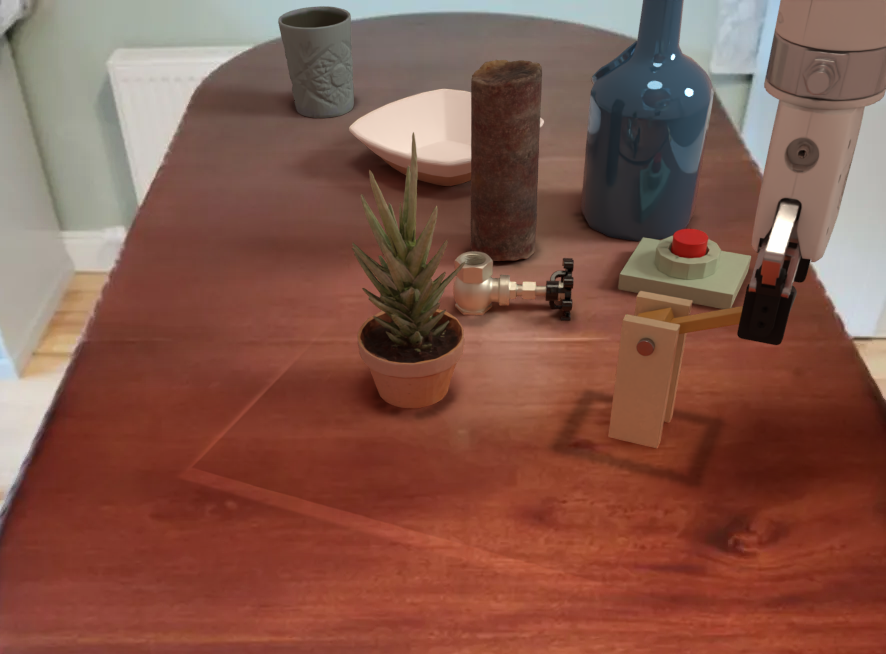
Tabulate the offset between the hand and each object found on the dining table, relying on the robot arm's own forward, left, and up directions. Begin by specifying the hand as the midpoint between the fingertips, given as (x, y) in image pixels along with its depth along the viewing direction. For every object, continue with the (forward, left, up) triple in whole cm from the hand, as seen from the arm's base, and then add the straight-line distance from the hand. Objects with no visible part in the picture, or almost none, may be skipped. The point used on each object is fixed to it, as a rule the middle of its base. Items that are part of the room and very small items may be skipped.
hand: (772, 307), depth 76 cm
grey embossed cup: (+90, -32, -15) cm, 97 cm away
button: (+21, -23, -11) cm, 33 cm away
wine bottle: (+34, -32, -15) cm, 49 cm away
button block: (+21, -23, -15) cm, 35 cm away
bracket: (+8, +3, -15) cm, 17 cm away
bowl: (+62, -29, -15) cm, 70 cm away
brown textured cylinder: (+40, -15, -15) cm, 45 cm away
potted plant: (+27, +12, -15) cm, 33 cm away
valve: (+30, -5, -15) cm, 34 cm away
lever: (+4, +1, -3) cm, 5 cm away
